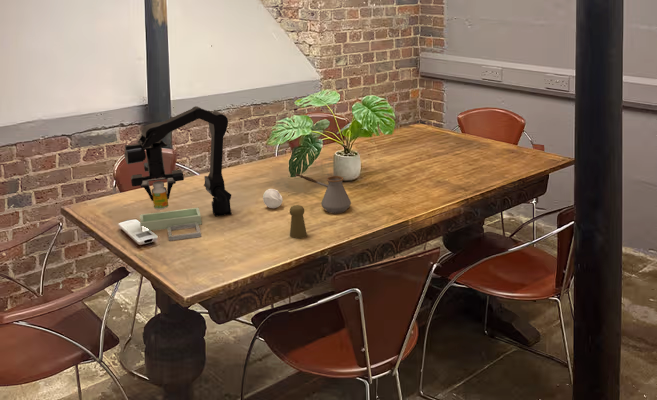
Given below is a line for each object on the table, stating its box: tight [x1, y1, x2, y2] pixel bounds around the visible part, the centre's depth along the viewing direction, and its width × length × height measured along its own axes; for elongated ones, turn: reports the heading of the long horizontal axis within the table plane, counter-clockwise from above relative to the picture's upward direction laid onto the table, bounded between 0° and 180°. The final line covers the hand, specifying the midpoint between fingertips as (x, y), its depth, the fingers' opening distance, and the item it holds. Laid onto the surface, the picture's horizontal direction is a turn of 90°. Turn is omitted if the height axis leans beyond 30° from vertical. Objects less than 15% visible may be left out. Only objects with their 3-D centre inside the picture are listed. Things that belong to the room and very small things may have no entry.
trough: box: [139, 207, 202, 232], centre depth 270 cm, size 22×10×4 cm, turn 104°
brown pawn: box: [289, 204, 308, 239], centre depth 253 cm, size 6×6×11 cm
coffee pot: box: [294, 173, 352, 214], centre depth 276 cm, size 21×12×15 cm, turn 85°
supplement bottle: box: [151, 180, 169, 211], centre depth 266 cm, size 5×5×10 cm
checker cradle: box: [166, 222, 202, 242], centre depth 261 cm, size 11×11×2 cm
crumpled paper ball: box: [262, 188, 284, 209], centre depth 282 cm, size 8×8×8 cm
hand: (160, 199), depth 267 cm, fingers closed on supplement bottle, 5 cm apart
